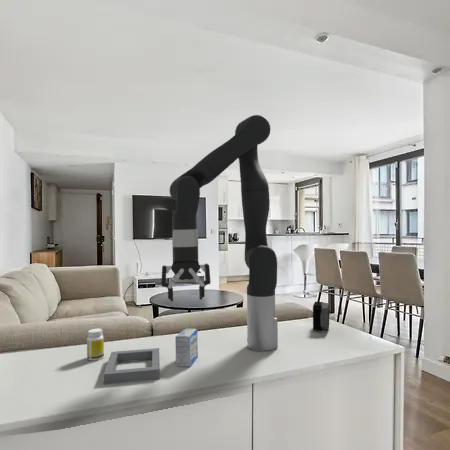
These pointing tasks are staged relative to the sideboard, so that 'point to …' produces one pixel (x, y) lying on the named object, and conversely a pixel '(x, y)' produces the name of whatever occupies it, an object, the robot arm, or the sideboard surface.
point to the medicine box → (186, 347)
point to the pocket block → (137, 373)
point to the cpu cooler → (321, 316)
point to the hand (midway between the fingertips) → (186, 300)
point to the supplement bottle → (95, 345)
